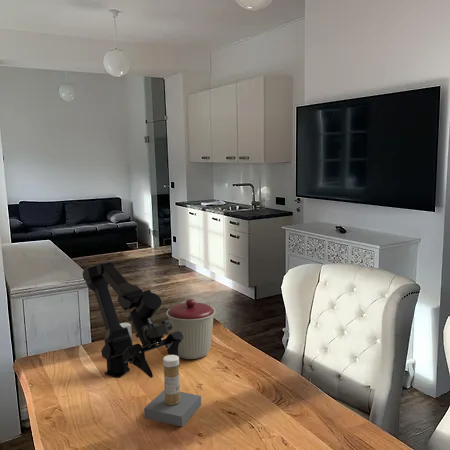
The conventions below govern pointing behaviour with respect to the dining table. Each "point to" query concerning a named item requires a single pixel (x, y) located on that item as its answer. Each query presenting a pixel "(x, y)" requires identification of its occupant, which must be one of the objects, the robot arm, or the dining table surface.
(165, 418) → the podium
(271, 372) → the dining table surface
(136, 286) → the robot arm
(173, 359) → the sprinkles bottle
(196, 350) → the canister
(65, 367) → the dining table surface
